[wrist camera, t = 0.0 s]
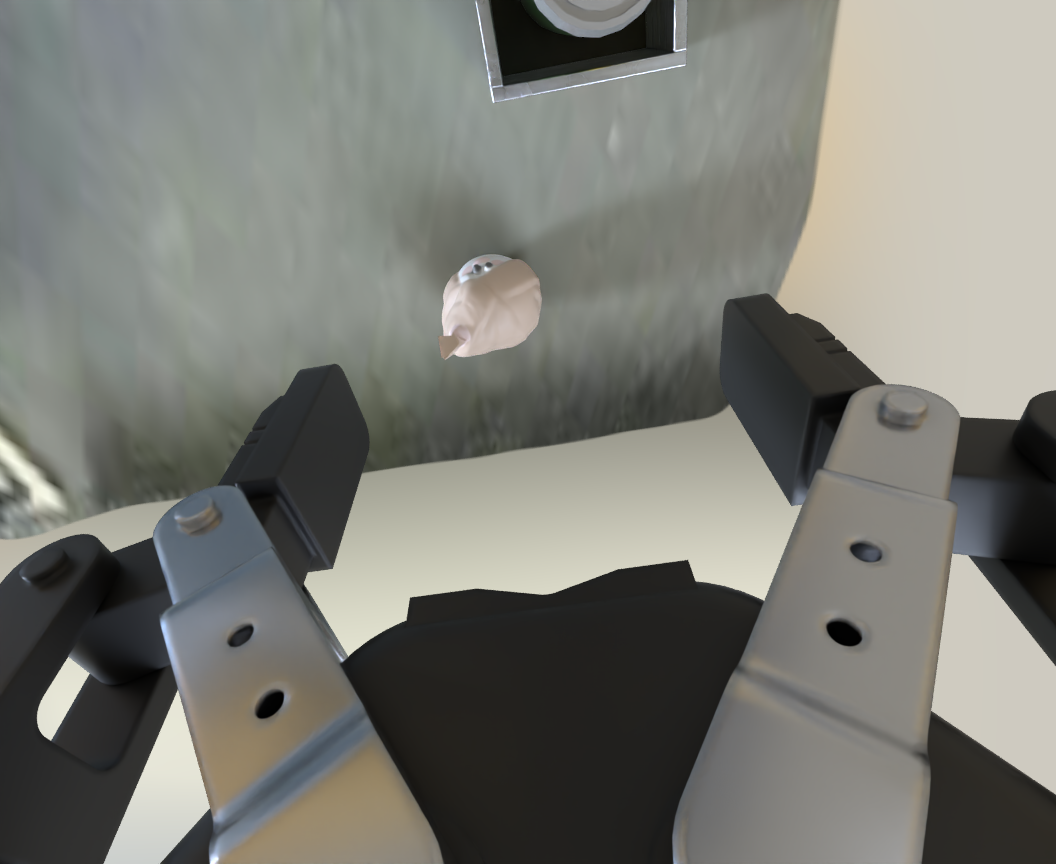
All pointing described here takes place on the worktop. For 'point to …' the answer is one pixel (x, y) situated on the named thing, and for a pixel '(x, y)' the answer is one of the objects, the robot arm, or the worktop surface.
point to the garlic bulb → (489, 306)
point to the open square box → (661, 54)
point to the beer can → (584, 15)
